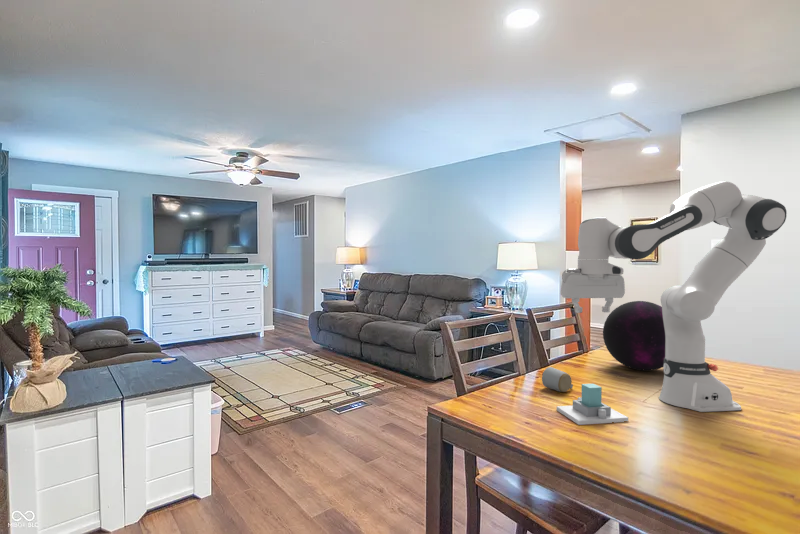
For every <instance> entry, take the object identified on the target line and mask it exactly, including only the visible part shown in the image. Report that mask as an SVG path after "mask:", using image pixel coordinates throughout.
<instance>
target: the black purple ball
mask: <svg viewBox="0 0 800 534" xmlns="http://www.w3.org/2000/svg"><path fill="white" fill-rule="evenodd" d="M602 329H603V330H602V338H603V342H604V345H605V347H606V349H607V351H608V352H609V354H610V355H611V356H612V357H613V359H614V360H616V361H617V362H619V364H621V365H623V366H625V367H627V368H629V369H633V370H638V371H643V372H644V371H645V372H646V371H647V372H648V371H649V372H650V371H655V370H659V369H661V368H663V363H664V358H665V328H664V322H663V314H662V305H659V304H657V303H654V302H650V301H647V300H646V301H644V300H634V301H629V302H625V303H623V304H620V305H619V306H617V307H616V308H614V309H612V311H611V312H609V314H608V315H607V317H606V319H605V322H604V324H603V328H602Z"/></svg>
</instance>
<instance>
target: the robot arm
mask: <svg viewBox="0 0 800 534" xmlns="http://www.w3.org/2000/svg"><path fill="white" fill-rule="evenodd" d="M787 214H788V213H787V209H786V207H785V205H784V204H782V203H781V202H780V201H777V200H774V199H771V198H764V197H762V196H758V195H752V194H742V192H741V190H740V188H739V187H738V185H736V184H735V183H733V182H731V181H725V180H724V181H723V180H722V181H718V182H714V183H710V184H707V185H705V186H701V187H699V188H696V189H694V190H692V191H690V192H688V193H685V194H683V195H681V196H680V197H679V198H678V199H676V200H674V201H672V202H671V205H670V208H669V214H667V215H664V216H663V217H661V218H659V219H657V220H654V221H652V222H650V223H647V224H644V223H643V224H641V223H640V224H632V225H630V226H629V225H628V226H624V227H623V226H620V225H618V224H615V223H613V222H612V221H610V220H609V219H608V218H607V217H604V216H599V217H593V218H592V217H591V218H588V219H585V220H583V221H581V223H580V225H579V227H578V228H579V230H578V237H577V238H578V239H577V247H578V251H579V253H578V255H577V268H567V269H566V270H564V271H562V274H561V280H562V281H561V286H560V287H561V288H560V295H561V297H562V298H563V299H571V303H572V304H573V306H574V312H575V313H576V314H581V313H583V306H580V304H579V302H580V299H604V301H605V303H604V305H602V307H601V311H602V313H611V312H610V311H611V306H612V304H614V299H622V298H624V296H625V293H626V292H625V291H626V289H625V288H626V287H625V278H624V276H623V274H624V268H623V267H620V266H618V265H615V264H612V263H609V258H610V257H611V258H614V259H624V260H625V259H631V260H642V259H646V258H647V257H649V256H651V255H652V253H653V252H654V251H655V250H656V249H657V248H658V247H659V246H661V244H662V243H664V242H665V241H668V240H670V239H671V238H673V237H675V236H677V235H679V234H681V233H684V232H685V231H690V230H694V229H697V228H700V227H703V226H705V225H708V224H710V223H715V224H717V225H719V226H723V227H726V228H728V231H727V232H726V234H725V236H724V237H723V238H722V239H720V241H719V242H718V243H716V244H715V245H714V246H713V247H712V248H711V249H710V250H709V252H707V254H706V255H705V256H704V257H702V258H701V259H700V260H699V262H698V263H696V265H695V266H694V269H693V270H692V272H691V274H690V275H689V277H687V279H686V280H685V282H684V283H683V284H682V285H679V284H677V285H673V286H670V287H668V288H666V289H665V290H663V292H662V293H661V296H660V304H661V305H660V306H661V307H662V314H663V322H664V328H665V358H664V363H663V367H662V368H663V380H662V387H661V390H660V394H659V395H658V399H659V400H660V401H661V402H663V403H666V404H668V405H672V406H675V407H679V408H683V409H684V408H685V409H689V410H693V411H696V412H699V413H700V412H701V413H705V412H706V413H708V412H709V413H710V412H726V411H728V412H730V411H731V412H732V411H741V410H742V406H741V405H740V404H739V403H738V402H736V400H735V401H734V400H733V394H732V392H731V391H732V390H731V389H730V387H729V386H727V385H726V384H725V383H724V382H722V381H721V380H719V379H718V378H717V377H715V375H713V374H712V373H711V371H713V372H717V371H718V370H719V367H718V365H716V364H714V363H708V362H706V337H705V334H704V331H703V327H702V323H701V321H704V320H706V319H708V318H710V317H711V315H713V314H714V312H715V307H716V305H717V304H719V301H720V300H721V299H722V298H723V296H724V294H725V293H726V291H727V290H728V288H729V287H730V286H731V285H732V284H733V283H734V282H735V281H736V280H738V278H739V277H740V276H741V275H742V274H743V273H744V272H745V271H746V270H747V269H748V268H749V267H750V266H751V265H752V264H753V262H755V261H756V259H757V258H758V257H759V255H760V254H761V252H762V251H763V249H764V248H765V245H766V244H767V243H766V241H767V240H766V239H768V238H770V237H771V236H772V235H774V234H775V233H777V232H778V231H779V230H780V229H781V227H782V226H783V225H784V224H785V222H786V220H787Z"/></svg>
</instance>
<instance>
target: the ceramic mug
mask: <svg viewBox="0 0 800 534" xmlns="http://www.w3.org/2000/svg"><path fill="white" fill-rule="evenodd" d="M572 381H573V380H572V376H571V375H570V374H569V373H567V372H565V371H563V370H560V369H557V368H554V367H553V366H548V367H547V368H545V369H544V370H543V372H542V376H541V383H542V384H543V386H544V387H545V388H547V389H551V390H553V391H557V392H561V393H565V392H567V391H569V390H570V389H571V390H572V389H573V386H574V384H573V382H572Z"/></svg>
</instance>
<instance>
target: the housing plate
mask: <svg viewBox="0 0 800 534" xmlns="http://www.w3.org/2000/svg"><path fill="white" fill-rule="evenodd" d="M581 398H582V396H581V397H580V396H579V397H577V399H572V405H559V406H558V405H557V406H556V411H557V412H559V413H560V414H561V415H563V416H565V417H566V418H568V419H569V420H571V421H573V422H574V423H575V424H577V425H578V426H580V425H595V424H598V425H599V424H613V423H612V422H614V423H625V422H624V421H628V422H629V417H628V416H626V415H625V414H622V413H620V412H619V411H617V410H616V409H614V408H612V407H611V406H609V405H607V404H605V403H603V402H602V401H601V407H587V406H585V405H584V404H582V403H581Z"/></svg>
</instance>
